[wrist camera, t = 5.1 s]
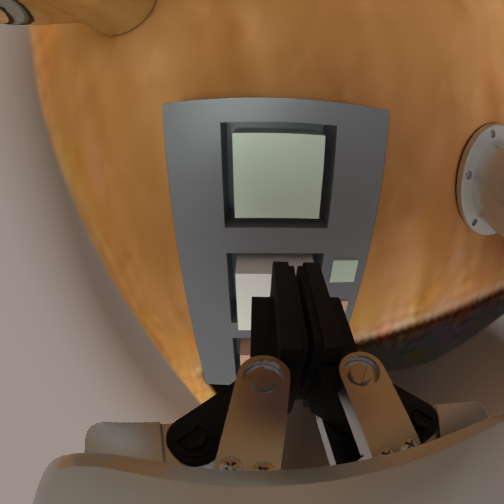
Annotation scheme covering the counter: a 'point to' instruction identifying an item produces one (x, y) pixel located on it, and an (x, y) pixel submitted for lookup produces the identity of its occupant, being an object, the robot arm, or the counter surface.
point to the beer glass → (78, 13)
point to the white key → (258, 279)
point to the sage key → (277, 172)
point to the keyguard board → (266, 229)
